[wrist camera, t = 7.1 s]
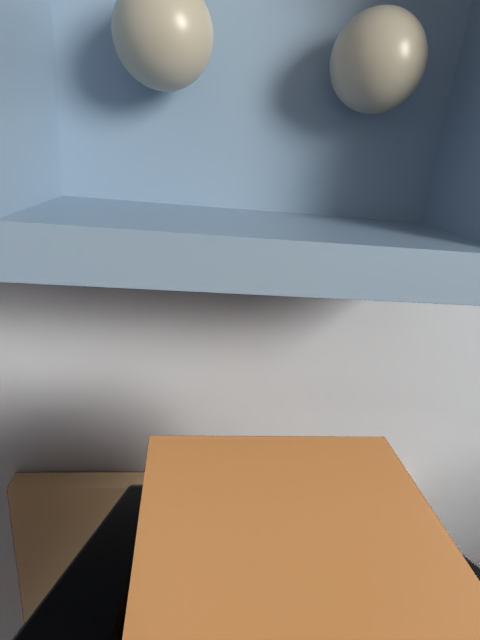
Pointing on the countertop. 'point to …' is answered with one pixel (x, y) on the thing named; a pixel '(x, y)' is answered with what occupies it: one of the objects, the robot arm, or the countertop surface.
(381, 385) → the countertop surface
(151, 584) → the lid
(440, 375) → the countertop surface
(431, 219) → the tub
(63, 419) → the countertop surface
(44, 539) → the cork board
